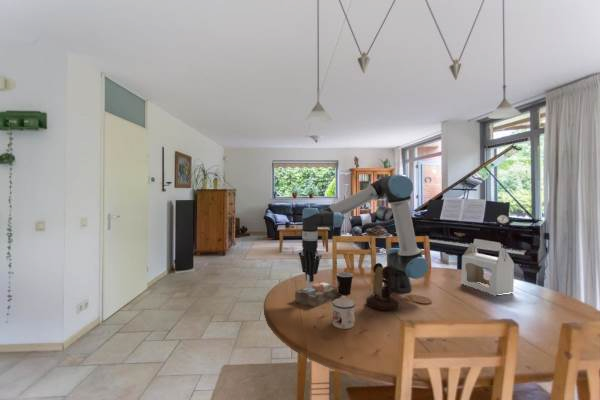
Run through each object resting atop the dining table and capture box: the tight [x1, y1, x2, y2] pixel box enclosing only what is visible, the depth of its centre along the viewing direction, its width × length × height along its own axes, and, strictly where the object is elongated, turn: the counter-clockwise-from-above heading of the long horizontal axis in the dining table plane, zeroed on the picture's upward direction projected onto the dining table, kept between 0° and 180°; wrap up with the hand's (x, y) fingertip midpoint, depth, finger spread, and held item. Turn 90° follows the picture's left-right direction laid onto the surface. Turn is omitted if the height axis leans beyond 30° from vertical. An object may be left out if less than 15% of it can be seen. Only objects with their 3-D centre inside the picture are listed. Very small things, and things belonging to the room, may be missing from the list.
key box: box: [294, 282, 338, 309], centre depth 145 cm, size 19×12×5 cm, turn 138°
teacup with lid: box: [331, 295, 356, 330], centre depth 116 cm, size 12×9×12 cm
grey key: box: [302, 287, 315, 295], centre depth 141 cm, size 4×4×5 cm
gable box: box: [461, 238, 515, 295], centre depth 166 cm, size 22×13×28 cm, turn 19°
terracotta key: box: [312, 282, 323, 292], centre depth 145 cm, size 4×4×5 cm
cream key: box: [319, 282, 331, 289], centre depth 150 cm, size 4×4×5 cm
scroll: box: [365, 262, 399, 312], centre depth 137 cm, size 15×15×20 cm
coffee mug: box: [336, 272, 354, 296], centre depth 157 cm, size 12×9×10 cm
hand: (309, 287), depth 141 cm, fingers closed
